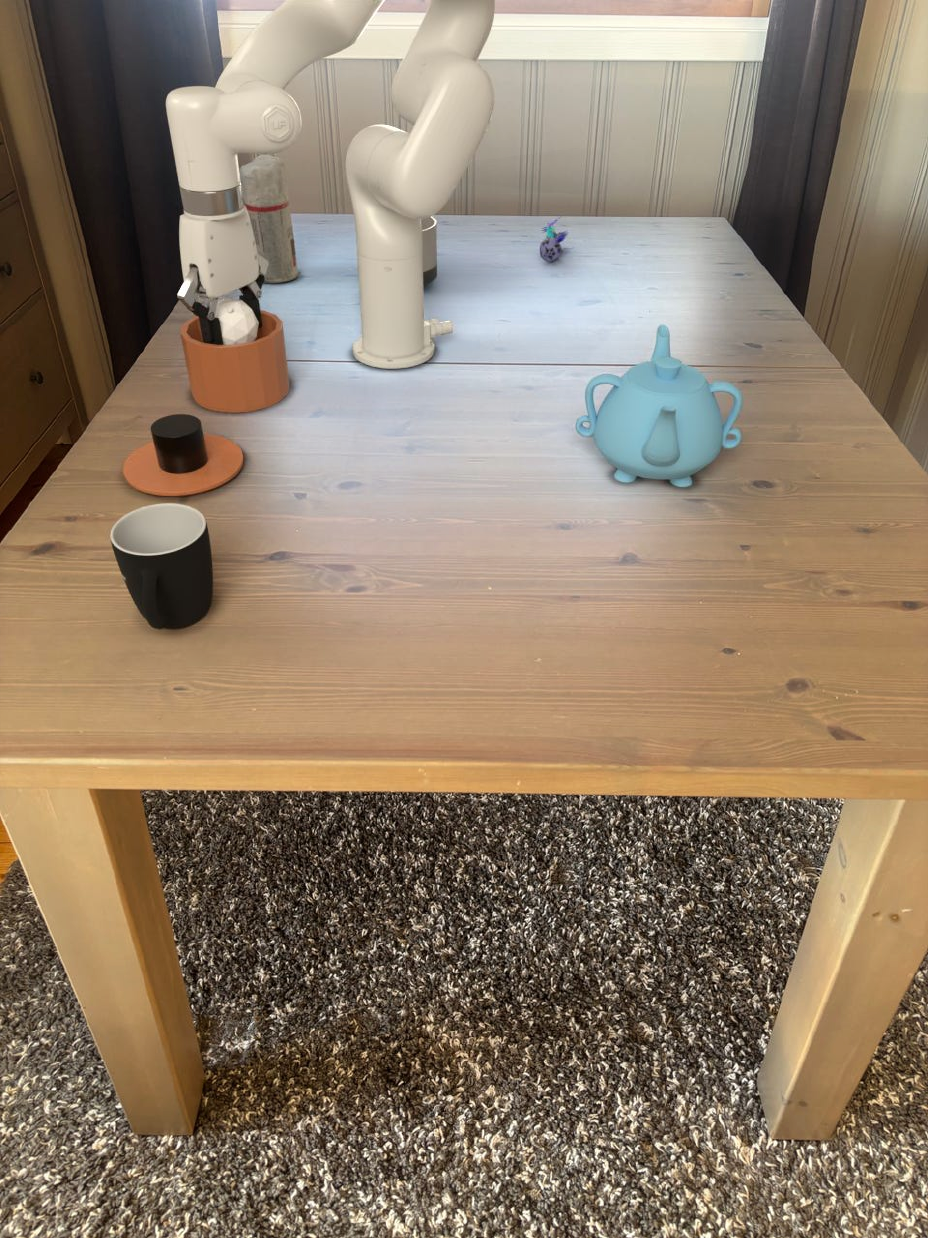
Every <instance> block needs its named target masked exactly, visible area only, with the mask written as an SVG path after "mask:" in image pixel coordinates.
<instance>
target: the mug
mask: <svg viewBox="0 0 928 1238" xmlns="http://www.w3.org/2000/svg"><path fill="white" fill-rule="evenodd" d="M109 538H110V544H111V548H112V551H113V554H114V557H115V560H116V563H117V566H118V568H119V571H120V573H121V576H122V578H123V581H124V584H125V586H126V589H127V591H128V593H129V595H130V597H131V599H132V601H133V603H134V604H135V606H136V608H137V611H138V612H139V614H140V615H141V616H142V617H143V618H144V619H145V620H146V622H147V624H148V625H149V626H150V627H151V628H153V629H155V630H163V629H164V630H180V629H185V628H188V627H190V626H193V625H195V624H197V623H198V622H200V621H201V620H202V619H203V618H204V617H205V616H206V615H207V614H208V612H209V610H210V608H211V606H212V602H213V596H214V566H213V554H212V546H211V540H210V531H209V527H208V524H207V519H206V517H205V516H204V513H202V512H201V511H200V510H198V509H196V508H195V507H193V506H190V505H186V504H183V503H173V502H167V503H165V502H163V503H155V504H149V505H146V506H142V507H139V508H137V509H136V508H135V509H134V510H132V511H130V512H128V513H126V514H125V515H123V516H122V517H120V518H119V519H118V520H116V522H115V523H114V524H113V526H112V527H111V529H110V535H109Z"/></svg>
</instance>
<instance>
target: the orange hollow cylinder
mask: <svg viewBox="0 0 928 1238" xmlns="http://www.w3.org/2000/svg"><path fill="white" fill-rule="evenodd" d="M260 312H261V319H262V327H261V328H259V329H258V331H257V338H256V339H255V341H252V342H247V343H242V344H236V345H214V344H207V343H204V342H203V339H202V333H201V328H200V322H199V317H197V316H195V315H194V316H192V318H190V319H188V320H186V321H185V322H184V323H183V324H182V326H181V329H180V332H179V335H180V340H181V344H182V350H183V356H184V358H185V359H184V360H185V361H184V362H185V366H186V371H187V376H188V382H189V387H190V392H191V395H192V398H193V399H194V401H195V402H196V404H198V405H199V406H200V407H202V408H204V409H207V410H211V411H214V412H218V413H219V412H220V413H230V414H233V413H234V414H235V413H238V414H239V413H249V412H254V411H258V410H259V411H260V410H264V409H266V408H269V407H271V406H274V405H276V404H278V403H280V402H281V401H282V400H284V399H285V398H286V396H287V395H288V394H289V392H290V375H289V366H288V357H287V351H286V350H287V349H286V340H285V333H284V332H285V331H284V324H283V320H281V319H280V317H278V316H277V315H276V314H274V313H271V312H269V311H267V310H263V309H260Z"/></svg>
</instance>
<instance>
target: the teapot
mask: <svg viewBox="0 0 928 1238" xmlns="http://www.w3.org/2000/svg"><path fill="white" fill-rule="evenodd" d="M670 333H671V332H670V330H669V328H668V326H667V325H665V324H659V325H658V327H657V328H656V338H655V344H654V349H653V353H652V356H651V358H650V360H649V361H644V362H640V363H637V364H635V365H633V366H631V367H630V368H629V369H628V370H626V372H625V373H624V374H622V375H621V377H619V376H618V375H616V374H612V373H602V374H598V375H596V376H594V377H593V378H591V379H590V380H589V382H588V383H587V384H586V387H585V391H584V400H585V401H584V402H585V407H586V413H587V414H584V415H581V416H579V417H578V418H577V419H576V422H575V430H576V432H577V434H578V435H580V436H581V437H583V438H592V437H593V441H594V444H595V446H596V447H597V449H598V451H599V452H600V453H601V454H602V456H603V458H605V459H606V461H608V463H610V465H612V466H613V467H615V468H616V471H615V473H614V474H613V478H614V479H615V480H616V481H619V482H620V483H633V482H635V481H636V480H637V478H638V477H640V478H644V479H650V480H651V479H652V480H668V481H669V483H670V484H671V485H673V486H675V487H679V488H687V487H690V486H691V485H692V484H693V480H692V477H691V476H692V475H695V474H696V473H698V472H700V471H701V470H703V469H704V468H706V467H707V466H709V465H710V464H711V463H712V462H714V460H715V459H717V457H718V455H719V454H720V452H721V450H722V448H723V449H725V450H726V449H727V450H732V449H736V448H737V447H738V446H739V445H740V444H741V442H742V439H743V435H742V432H741V430H740V429H738V428H737V427H733V426H734V425H735V423H736V421H737V419H738V418H739V415H740V413H741V410H742V407H743V401H744V399H743V394H742V391H741V390H740V389H739V388H738V387H737V386H736V385H735V384H733V383H731V382H729V381H715V382H712V383H709V382H708V379H707V378H706V376H705V375H704V374H703V373H702V372H701V371H699V370H698V369H696V368H695V367H693V366H690V365H688V364H685V363H683V361H682V360H680V359H678V358H676V357H674V356H673V357H672V356H671V342H670V341H671V340H670V338H671V335H670ZM600 385H610V386H612V387H611V389H610V390H609V391H608V393H607V394H606V396H605V397H604V399H603V401H602V402H601V404H600V406H599V408H598V412H597V411H596V407H595V399H594V391H595V388H596V387H597V386H600ZM714 393H727V394H729V395H730V396H732V397H733V405H732V407H731V409H730V412H729V414H728V416H727V417H726V419H725V421H724V423H723V417H722V412H721V409H720V406H719V403H718V400H717V397H716V396H715V394H714ZM584 423H589V426H588V427H587V426H584ZM728 435H733V436H734V437H733V438H730V439H729V438H728Z"/></svg>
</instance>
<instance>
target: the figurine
mask: <svg viewBox="0 0 928 1238" xmlns="http://www.w3.org/2000/svg"><path fill="white" fill-rule="evenodd" d="M561 217H563V216H560V217H558V218H556V219H554V220H553V221H551V222H547V223H546V226H544V227H542V228H541V232H542V233H546V238H544V239H543V240H542V241H541V242H540V246H539V254H540V257H541V258H542V259H543V260H544V261H545V262H546V263H548V264H550V263H554V262H555V261H557V260H559V259H560V257H562V254H563V251H567V250H572V249H573V247H565V248H562V246H561V244H560V243H562V242H563V241H565V240H566V238H567V237H568V235H569V233H570V232H568V231H569V230H568V229H567V230H565V231H564V230H563V231H559V232H558V233H557V232H556V230H555V226H554V224H556V222H558V220H560V219H561Z"/></svg>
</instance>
